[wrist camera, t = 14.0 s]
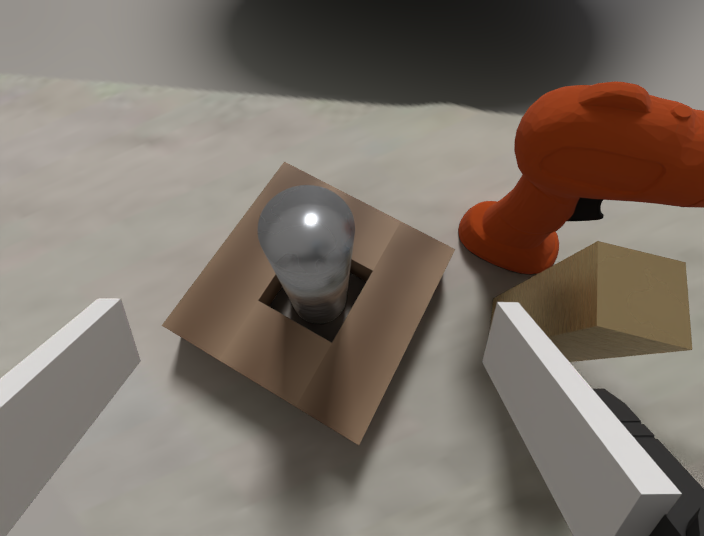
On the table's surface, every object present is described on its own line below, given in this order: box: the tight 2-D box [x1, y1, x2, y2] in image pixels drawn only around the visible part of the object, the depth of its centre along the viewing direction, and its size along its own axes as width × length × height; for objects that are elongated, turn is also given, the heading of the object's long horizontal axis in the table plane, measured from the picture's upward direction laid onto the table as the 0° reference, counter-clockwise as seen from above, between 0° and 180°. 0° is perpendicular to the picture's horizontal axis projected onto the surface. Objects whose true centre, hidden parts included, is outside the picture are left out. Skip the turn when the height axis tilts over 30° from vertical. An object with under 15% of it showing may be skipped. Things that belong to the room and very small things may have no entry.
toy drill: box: [458, 82, 704, 274], centre depth 20 cm, size 5×19×15 cm, turn 69°
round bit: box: [258, 185, 355, 324], centre depth 20 cm, size 4×4×12 cm
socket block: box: [162, 162, 455, 445], centre depth 24 cm, size 14×14×3 cm
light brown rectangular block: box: [490, 241, 692, 362], centre depth 20 cm, size 4×4×11 cm
